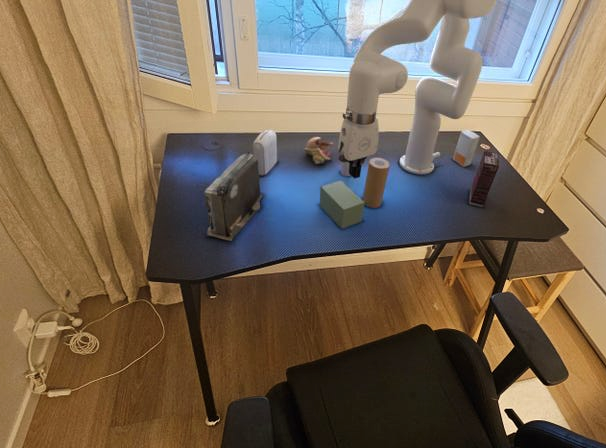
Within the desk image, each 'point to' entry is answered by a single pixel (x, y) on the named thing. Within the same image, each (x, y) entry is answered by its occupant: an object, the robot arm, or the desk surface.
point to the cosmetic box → (466, 147)
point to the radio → (233, 198)
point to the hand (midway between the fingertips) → (354, 175)
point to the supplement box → (484, 178)
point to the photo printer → (265, 151)
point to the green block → (341, 204)
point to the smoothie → (345, 168)
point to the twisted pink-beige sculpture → (318, 149)
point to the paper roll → (375, 182)
